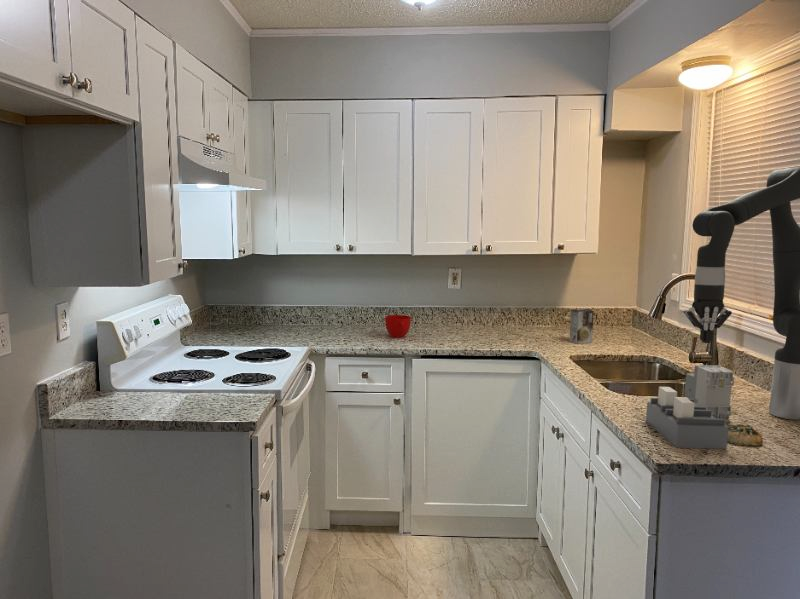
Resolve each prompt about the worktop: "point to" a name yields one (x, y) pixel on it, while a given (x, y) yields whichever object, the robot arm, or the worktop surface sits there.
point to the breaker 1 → (666, 396)
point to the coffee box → (581, 326)
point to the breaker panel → (688, 427)
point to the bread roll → (744, 435)
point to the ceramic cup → (397, 325)
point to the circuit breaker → (711, 389)
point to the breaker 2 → (683, 407)
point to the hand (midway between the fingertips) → (705, 342)
